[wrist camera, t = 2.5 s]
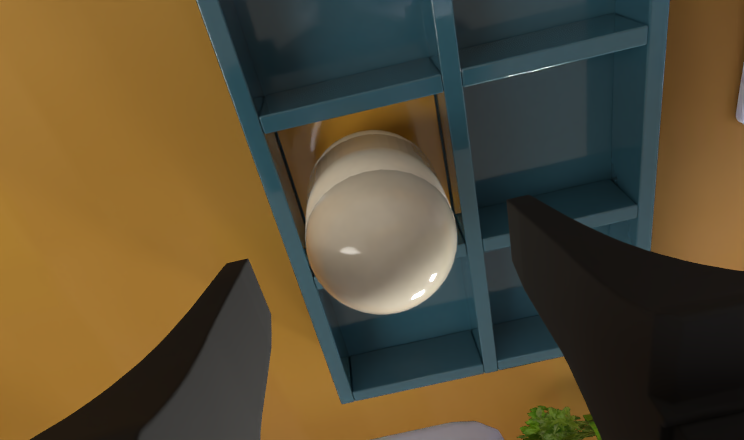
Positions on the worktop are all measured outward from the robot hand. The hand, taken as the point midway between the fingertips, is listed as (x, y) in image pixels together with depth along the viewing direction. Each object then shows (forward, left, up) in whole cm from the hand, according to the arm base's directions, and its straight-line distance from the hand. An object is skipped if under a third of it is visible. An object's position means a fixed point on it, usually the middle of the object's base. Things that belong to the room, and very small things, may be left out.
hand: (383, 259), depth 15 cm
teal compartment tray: (-3, 0, -7) cm, 7 cm away
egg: (0, 0, -6) cm, 6 cm away
